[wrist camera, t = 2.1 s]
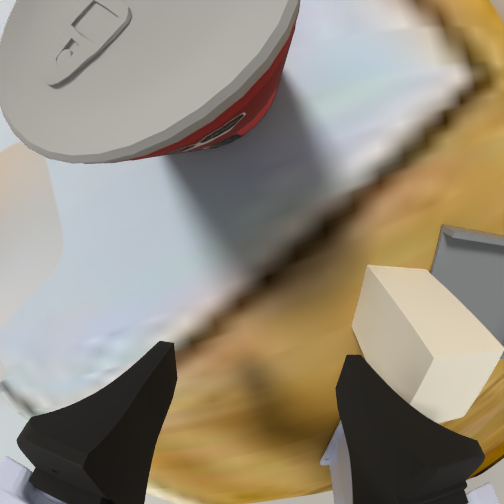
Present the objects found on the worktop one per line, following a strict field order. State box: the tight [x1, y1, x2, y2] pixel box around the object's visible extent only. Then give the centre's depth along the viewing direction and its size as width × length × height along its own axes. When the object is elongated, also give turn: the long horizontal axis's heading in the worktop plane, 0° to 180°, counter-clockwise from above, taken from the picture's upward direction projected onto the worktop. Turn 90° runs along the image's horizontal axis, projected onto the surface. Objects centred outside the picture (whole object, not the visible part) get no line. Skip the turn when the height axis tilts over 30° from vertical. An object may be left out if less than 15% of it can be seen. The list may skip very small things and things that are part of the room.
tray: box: [430, 225, 504, 359], centre depth 17 cm, size 11×12×2 cm
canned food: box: [0, 0, 300, 164], centre depth 9 cm, size 8×8×11 cm
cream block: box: [352, 265, 504, 423], centre depth 14 cm, size 4×4×9 cm
